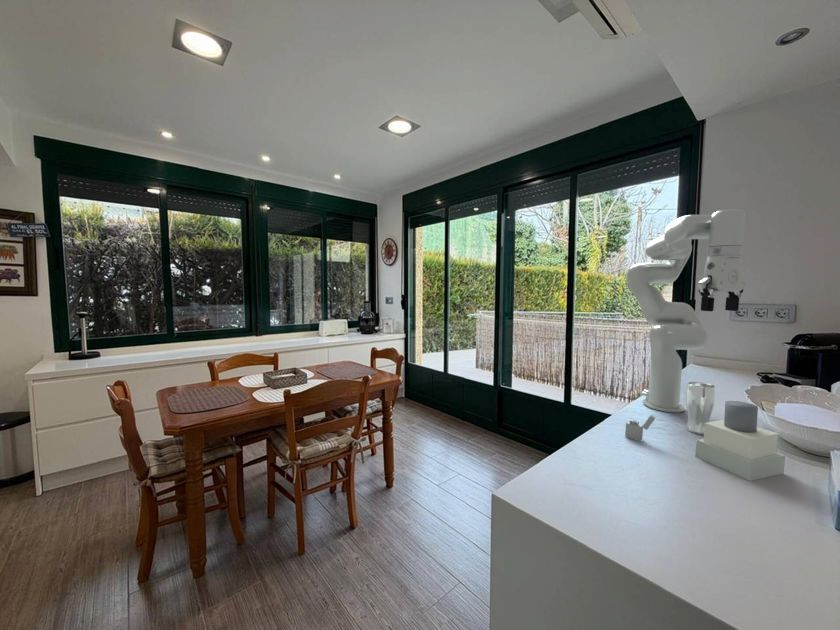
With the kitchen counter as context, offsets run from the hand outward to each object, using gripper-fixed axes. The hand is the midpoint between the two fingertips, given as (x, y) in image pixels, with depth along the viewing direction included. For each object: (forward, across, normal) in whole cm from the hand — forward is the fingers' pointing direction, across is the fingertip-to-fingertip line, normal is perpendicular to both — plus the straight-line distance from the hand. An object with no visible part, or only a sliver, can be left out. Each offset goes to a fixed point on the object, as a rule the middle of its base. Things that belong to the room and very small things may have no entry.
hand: (719, 310), depth 102 cm
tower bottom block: (+38, -13, -16) cm, 44 cm away
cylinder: (+28, -13, -16) cm, 35 cm away
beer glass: (+38, -2, +2) cm, 38 cm away
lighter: (+38, -25, +1) cm, 46 cm away
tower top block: (+33, -13, -16) cm, 39 cm away
